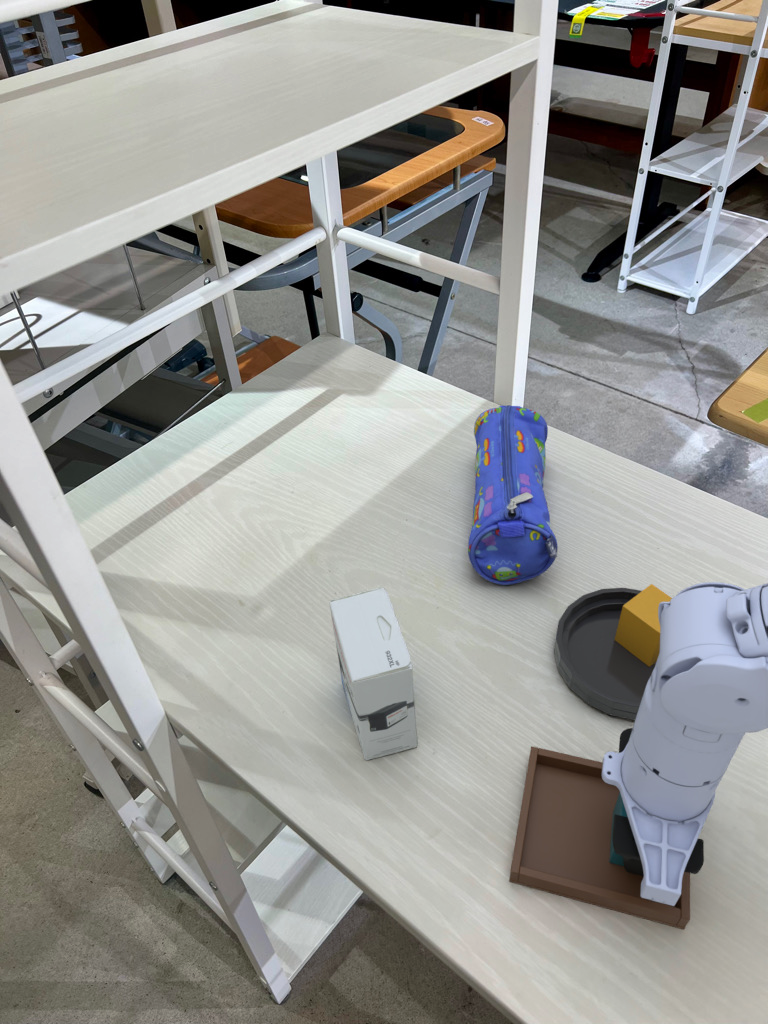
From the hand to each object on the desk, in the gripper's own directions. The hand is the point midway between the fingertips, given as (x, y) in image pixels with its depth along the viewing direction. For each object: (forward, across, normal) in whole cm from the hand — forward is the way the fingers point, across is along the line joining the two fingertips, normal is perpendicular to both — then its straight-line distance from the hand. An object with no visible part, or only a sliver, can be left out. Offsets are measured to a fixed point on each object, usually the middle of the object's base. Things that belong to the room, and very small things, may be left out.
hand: (641, 838), depth 55 cm
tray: (+1, 0, -3) cm, 3 cm away
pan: (+1, -17, -2) cm, 17 cm away
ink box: (+2, -6, -22) cm, 23 cm away
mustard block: (+1, -19, 0) cm, 19 cm away
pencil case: (+2, -33, -15) cm, 36 cm away
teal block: (+1, 0, 0) cm, 1 cm away
